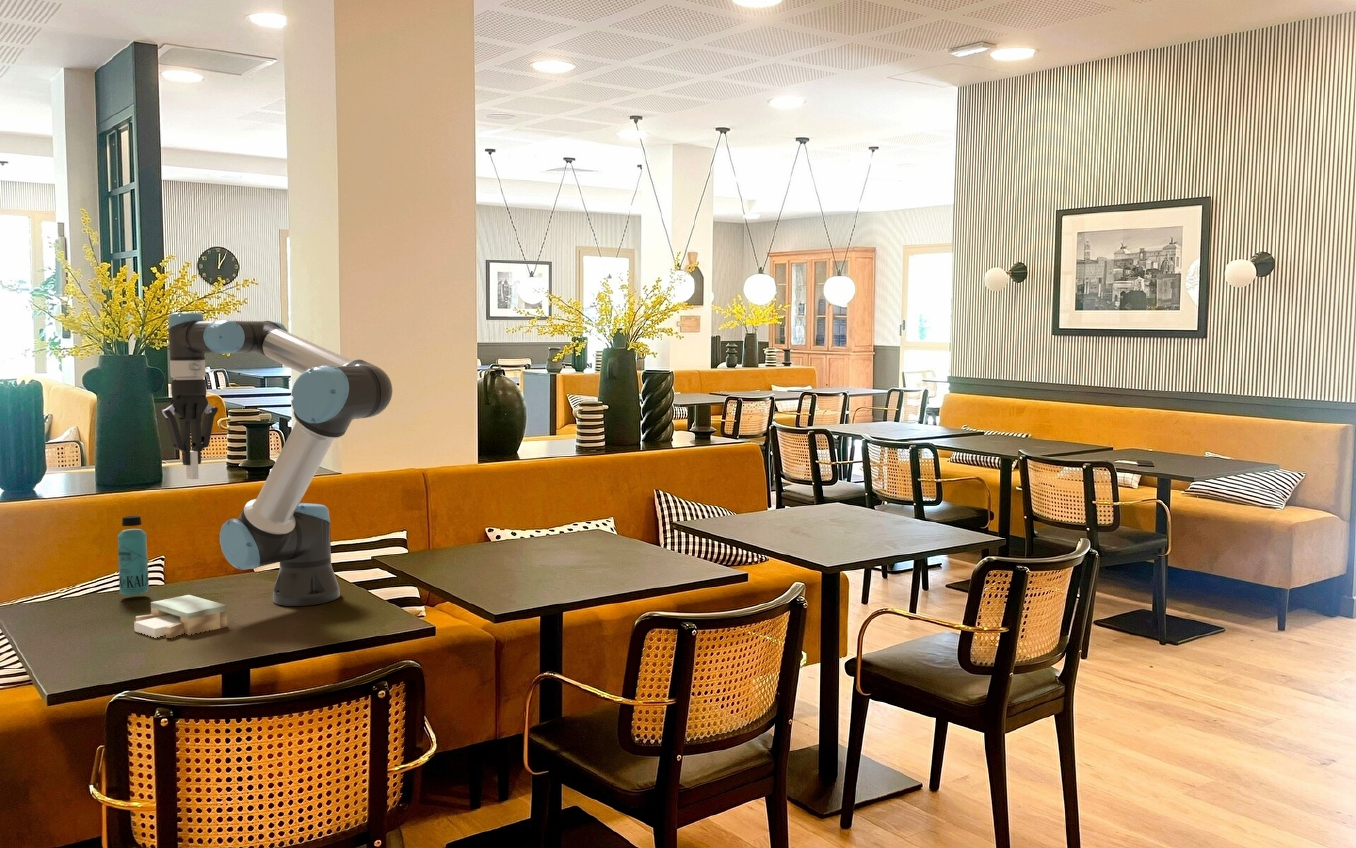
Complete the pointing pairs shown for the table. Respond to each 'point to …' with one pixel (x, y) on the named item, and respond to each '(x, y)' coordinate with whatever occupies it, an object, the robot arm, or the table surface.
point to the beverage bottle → (132, 558)
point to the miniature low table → (189, 614)
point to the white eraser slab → (156, 625)
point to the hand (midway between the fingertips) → (192, 478)
